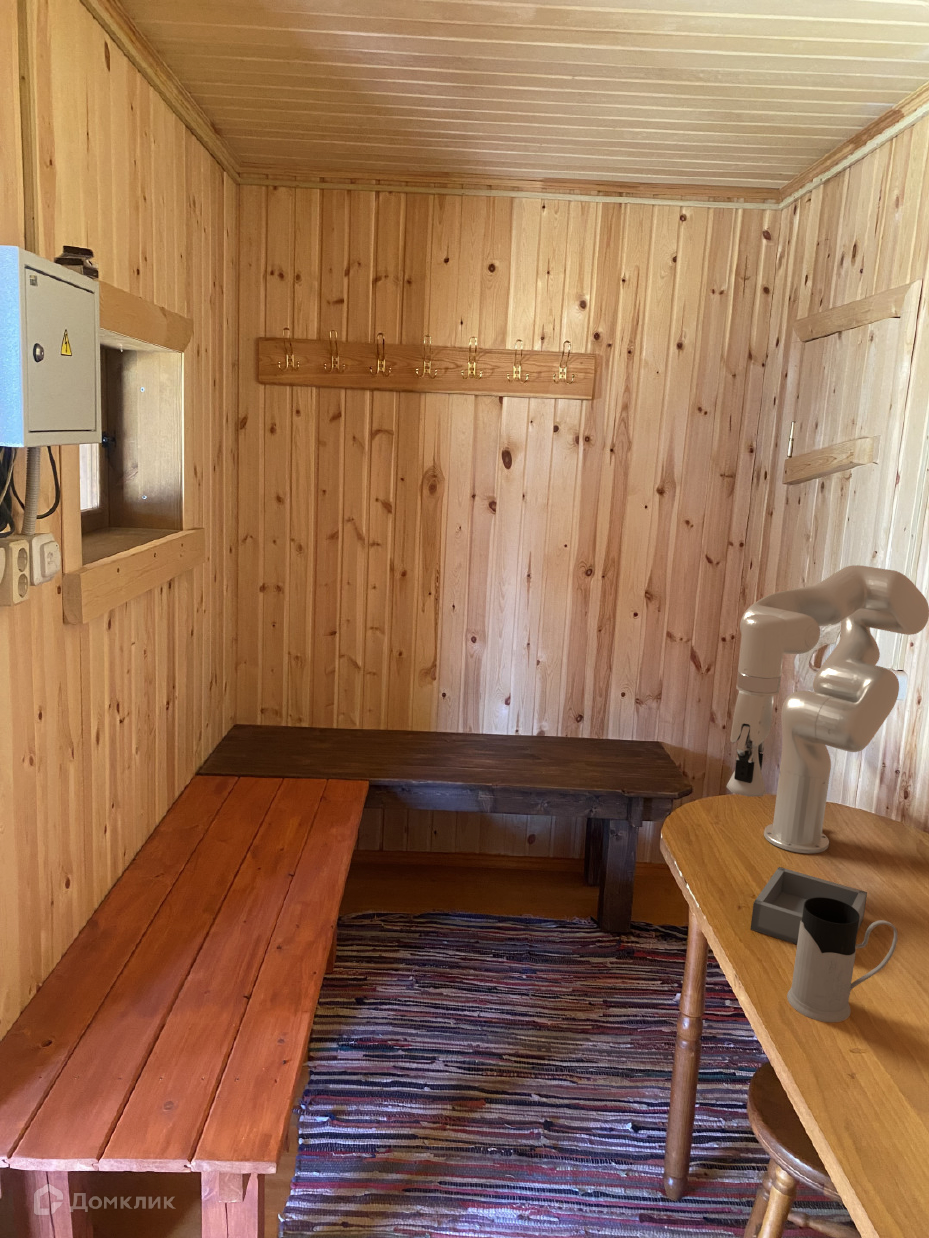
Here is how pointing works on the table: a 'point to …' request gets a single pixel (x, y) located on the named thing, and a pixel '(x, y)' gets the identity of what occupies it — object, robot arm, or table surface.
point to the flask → (755, 786)
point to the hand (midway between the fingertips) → (747, 775)
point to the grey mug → (828, 959)
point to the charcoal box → (796, 902)
